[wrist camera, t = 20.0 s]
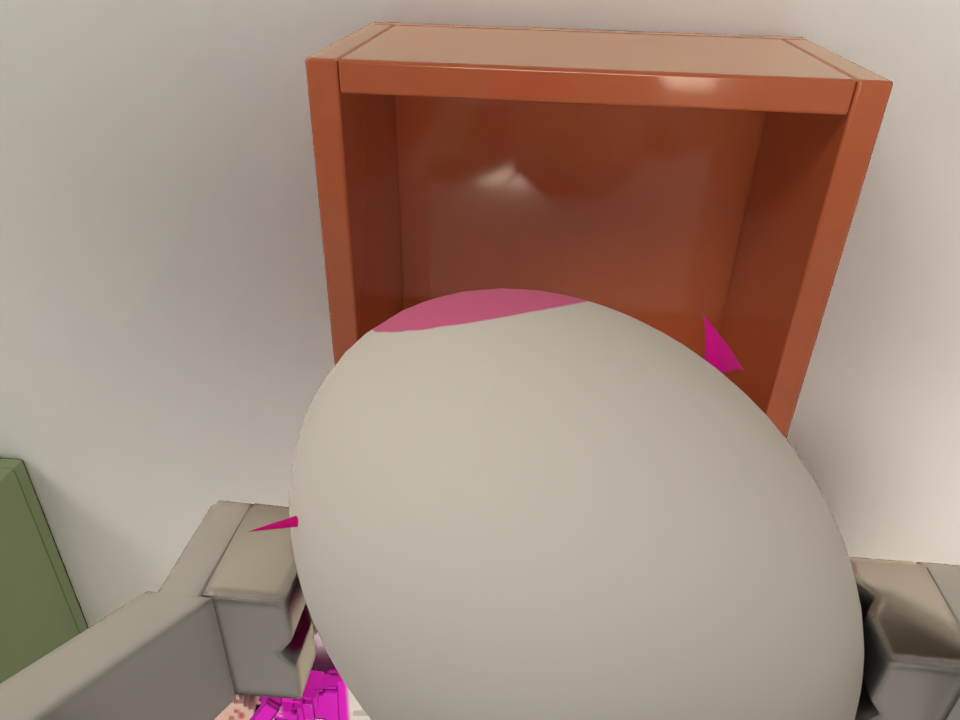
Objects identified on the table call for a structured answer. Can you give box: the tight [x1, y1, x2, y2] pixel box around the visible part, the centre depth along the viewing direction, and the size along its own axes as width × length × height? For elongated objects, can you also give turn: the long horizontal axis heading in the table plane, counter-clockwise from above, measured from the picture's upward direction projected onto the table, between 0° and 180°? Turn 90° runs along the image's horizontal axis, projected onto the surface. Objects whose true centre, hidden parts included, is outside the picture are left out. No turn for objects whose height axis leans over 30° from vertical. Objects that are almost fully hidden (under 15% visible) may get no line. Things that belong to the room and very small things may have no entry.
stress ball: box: [248, 288, 864, 720], centre depth 10 cm, size 8×8×7 cm
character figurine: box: [214, 669, 371, 720], centre depth 29 cm, size 6×5×12 cm
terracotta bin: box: [305, 22, 893, 438], centre depth 18 cm, size 10×10×6 cm
